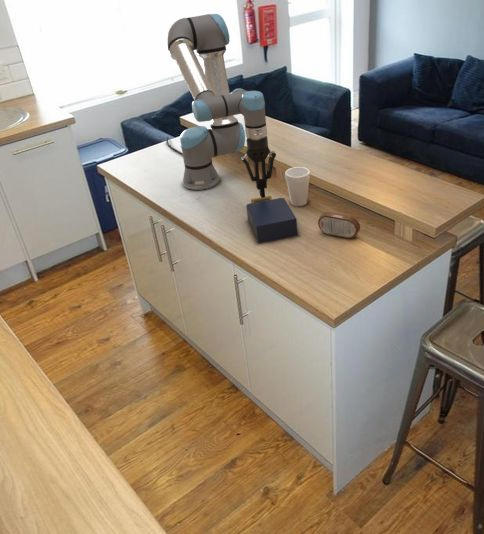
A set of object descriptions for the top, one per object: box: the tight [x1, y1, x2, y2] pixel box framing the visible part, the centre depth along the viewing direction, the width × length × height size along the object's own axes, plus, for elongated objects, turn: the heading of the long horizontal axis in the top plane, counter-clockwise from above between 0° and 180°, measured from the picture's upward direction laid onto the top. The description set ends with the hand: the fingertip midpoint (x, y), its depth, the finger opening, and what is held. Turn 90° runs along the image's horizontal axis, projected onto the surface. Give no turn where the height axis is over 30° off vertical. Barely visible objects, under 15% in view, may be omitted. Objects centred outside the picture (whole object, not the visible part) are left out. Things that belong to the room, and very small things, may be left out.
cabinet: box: [245, 197, 299, 244], centre depth 205 cm, size 17×15×7 cm
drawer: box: [246, 195, 282, 205], centre depth 209 cm, size 22×13×5 cm, turn 16°
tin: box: [317, 211, 361, 239], centre depth 197 cm, size 15×3×8 cm, turn 65°
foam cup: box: [284, 166, 311, 207], centre depth 218 cm, size 10×9×13 cm
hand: (262, 196), depth 212 cm, fingers closed
